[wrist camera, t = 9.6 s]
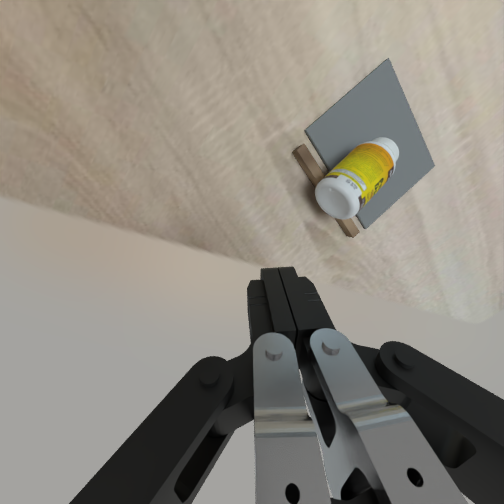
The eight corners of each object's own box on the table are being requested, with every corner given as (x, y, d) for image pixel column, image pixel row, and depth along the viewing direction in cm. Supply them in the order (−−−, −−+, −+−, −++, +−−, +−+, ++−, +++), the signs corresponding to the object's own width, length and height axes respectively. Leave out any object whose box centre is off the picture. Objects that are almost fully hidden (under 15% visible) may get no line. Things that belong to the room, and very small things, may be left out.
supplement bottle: (365, 208, 23) (418, 150, 26) (323, 172, 24) (379, 119, 26) (340, 228, 28) (386, 179, 31) (306, 199, 29) (354, 153, 32)
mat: (304, 130, 28) (305, 129, 28) (386, 59, 29) (388, 57, 29) (364, 228, 34) (366, 228, 33) (432, 166, 34) (435, 165, 34)
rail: (292, 152, 29) (297, 149, 27) (299, 146, 29) (304, 143, 27) (346, 236, 33) (353, 237, 32) (352, 230, 33) (359, 231, 32)
